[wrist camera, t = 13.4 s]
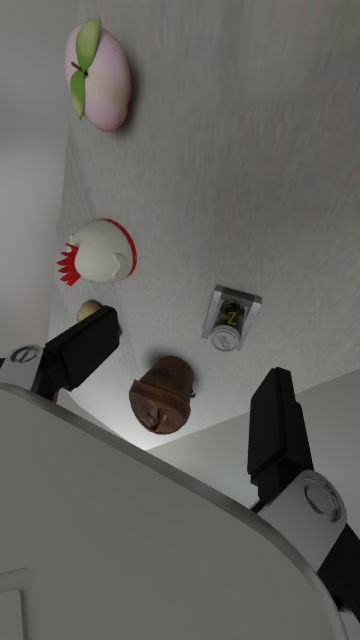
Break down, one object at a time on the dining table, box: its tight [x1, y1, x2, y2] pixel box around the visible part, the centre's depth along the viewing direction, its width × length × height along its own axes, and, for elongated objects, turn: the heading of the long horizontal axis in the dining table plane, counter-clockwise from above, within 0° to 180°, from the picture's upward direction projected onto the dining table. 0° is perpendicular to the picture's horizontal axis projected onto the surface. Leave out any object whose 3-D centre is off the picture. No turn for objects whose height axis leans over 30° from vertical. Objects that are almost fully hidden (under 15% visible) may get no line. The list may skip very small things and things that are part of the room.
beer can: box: [210, 301, 245, 352], centre depth 36 cm, size 5×5×12 cm
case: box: [129, 356, 196, 435], centre depth 53 cm, size 18×20×18 cm
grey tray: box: [202, 285, 262, 351], centre depth 41 cm, size 13×10×3 cm
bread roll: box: [77, 301, 120, 337], centre depth 56 cm, size 10×15×8 cm, turn 43°
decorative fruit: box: [65, 18, 131, 132], centre depth 25 cm, size 9×8×10 cm
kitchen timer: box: [57, 220, 137, 286], centre depth 39 cm, size 14×14×15 cm
